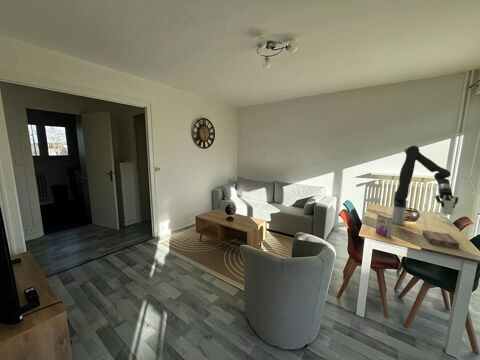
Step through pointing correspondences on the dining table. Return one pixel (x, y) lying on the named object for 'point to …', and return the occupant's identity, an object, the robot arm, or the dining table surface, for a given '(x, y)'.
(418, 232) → the dining table surface
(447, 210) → the sage-green block
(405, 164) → the robot arm
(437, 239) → the walnut plinth
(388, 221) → the candy bar box
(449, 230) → the dining table surface
